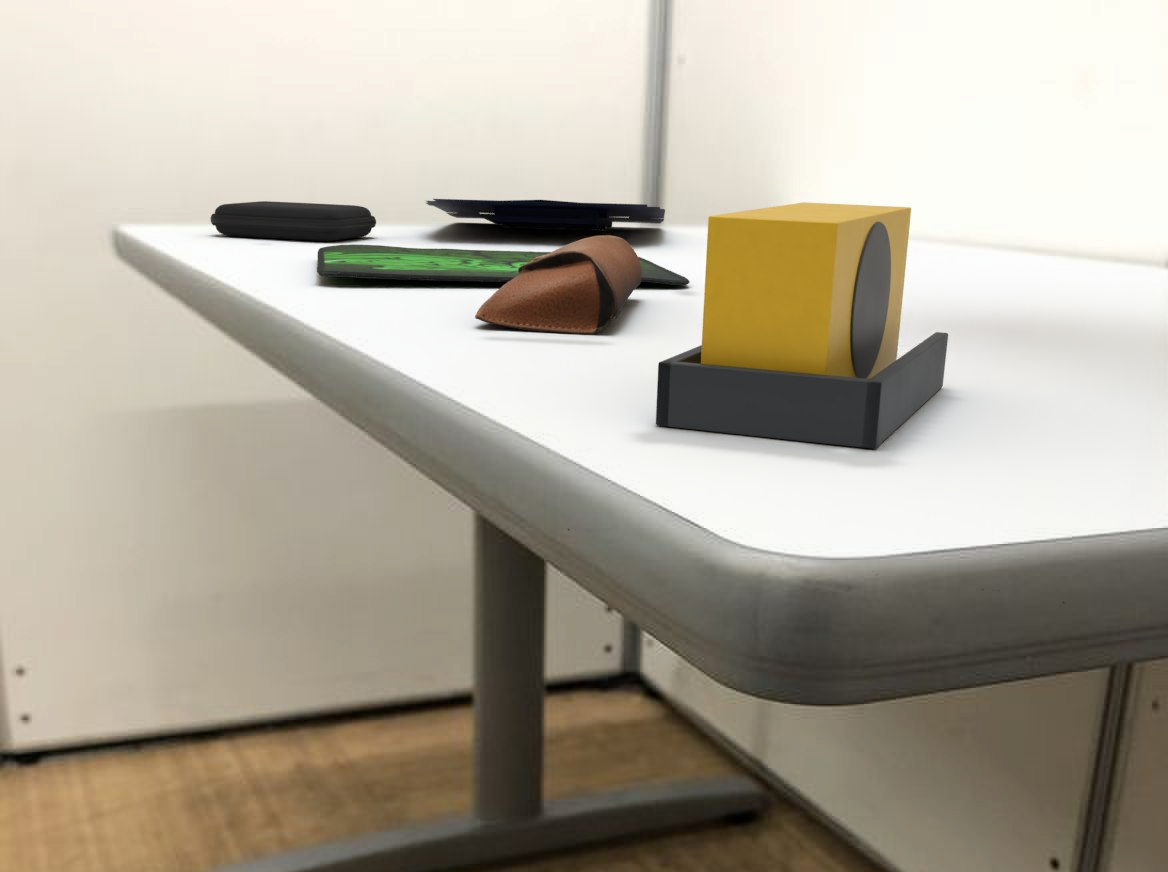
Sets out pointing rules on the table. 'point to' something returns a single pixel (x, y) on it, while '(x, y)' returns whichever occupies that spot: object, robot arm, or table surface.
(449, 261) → the mouse mat
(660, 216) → the black angular plate
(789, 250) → the tape measure
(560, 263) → the sunglasses case
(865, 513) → the table surface
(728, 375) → the u-shaped bracket
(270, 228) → the carrying case
